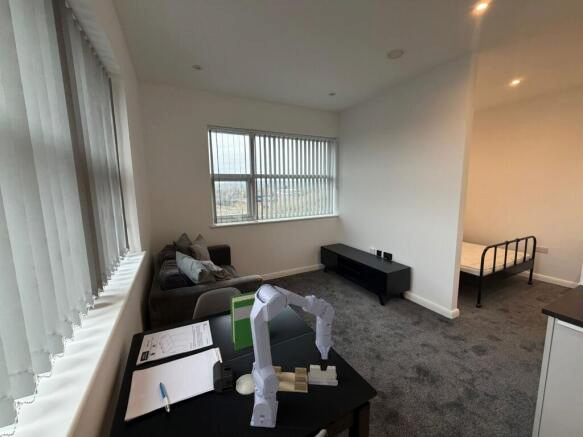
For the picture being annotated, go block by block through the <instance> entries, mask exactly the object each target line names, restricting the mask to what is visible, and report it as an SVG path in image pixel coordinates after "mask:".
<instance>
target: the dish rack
mask: <svg viewBox="0 0 583 437" xmlns="http://www.w3.org/2000/svg"><path fill="white" fill-rule="evenodd" d="M272 366H273V368H274V370H275V373H276V378H277V379H278V380H279V383H280V385H279V389H278V391H277V392H279V391H281V392H292V393H293V392H298V393H308V373H307V368H306V367H295V368H294V369H295V370H294V372H286V371H284V372H283V371H282V367H281V366H275V365H272Z"/></svg>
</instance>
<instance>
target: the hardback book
mask: <svg viewBox="0 0 583 437" xmlns="http://www.w3.org/2000/svg"><path fill="white" fill-rule="evenodd" d="M257 291H258V290H257ZM257 291H251V292H246V293H241V294H236V295H230V328H231V330H230V331H231V343H232V344H233V343H234V351H235V352H236V351H238V350H243V349H246V348H249V347H252V346H253V347H254V345H253V337H252V329H251V321H250V314H251V311H252V308H253V305H254V302H255V293H256V292H257ZM270 321H271V320H270ZM270 321H268V322H267V324H268V333H269V342H270V341H271V327H270V326H271V322H270Z"/></svg>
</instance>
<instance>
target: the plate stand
mask: <svg viewBox="0 0 583 437" xmlns="http://www.w3.org/2000/svg"><path fill="white" fill-rule="evenodd" d="M337 375H338V374H337V373H336V374H335V380H327V381H318V379H310V371H308V372H307V377H308V378H307V384H308V385H322V386H338V383H339V382H338V380H337V377H338V376H337Z"/></svg>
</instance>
